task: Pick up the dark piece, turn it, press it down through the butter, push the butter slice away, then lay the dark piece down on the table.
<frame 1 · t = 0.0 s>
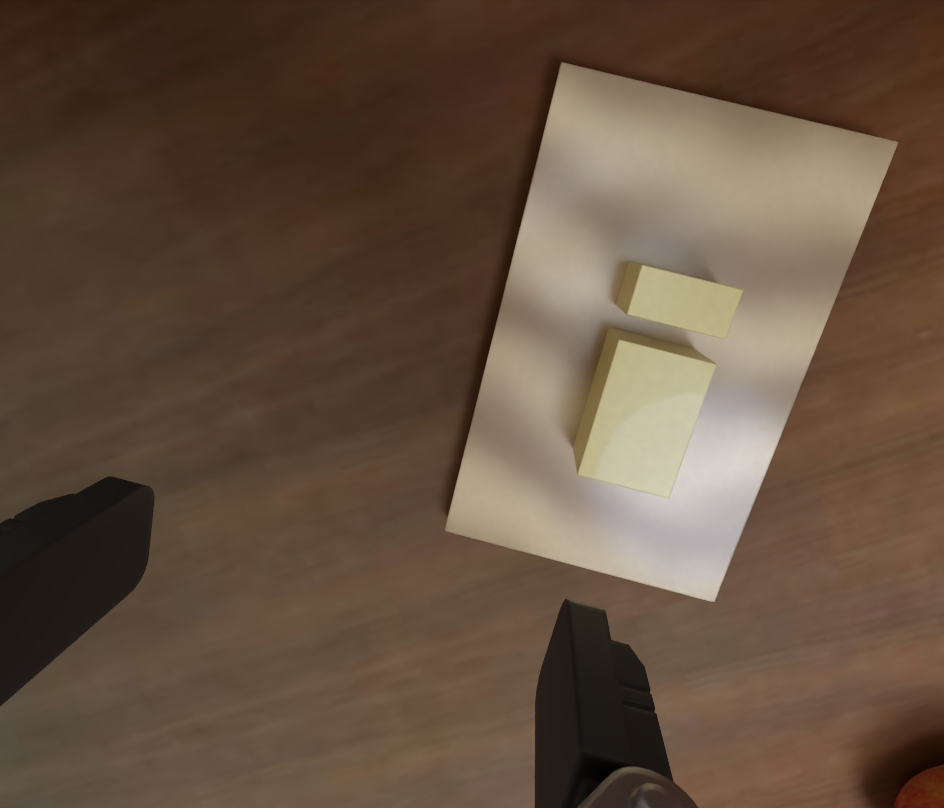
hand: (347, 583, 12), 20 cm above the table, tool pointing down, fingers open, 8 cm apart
board: (640, 353, 30), on the table
butter: (632, 400, 29), point 1 cm above the table, touching board
fruit: (940, 782, 34), on the table
butter slice: (666, 294, 27), point 1 cm above the table, touching board
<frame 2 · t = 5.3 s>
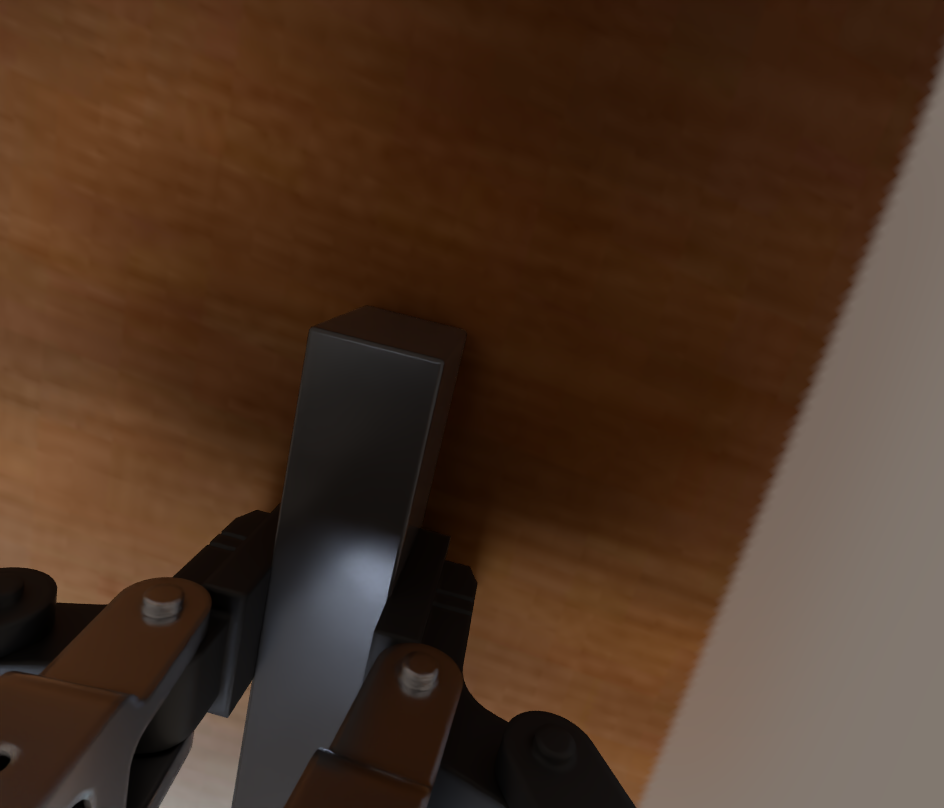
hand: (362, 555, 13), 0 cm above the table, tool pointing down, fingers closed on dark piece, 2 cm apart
dark piece: (327, 737, 14), on the table, touching gripper
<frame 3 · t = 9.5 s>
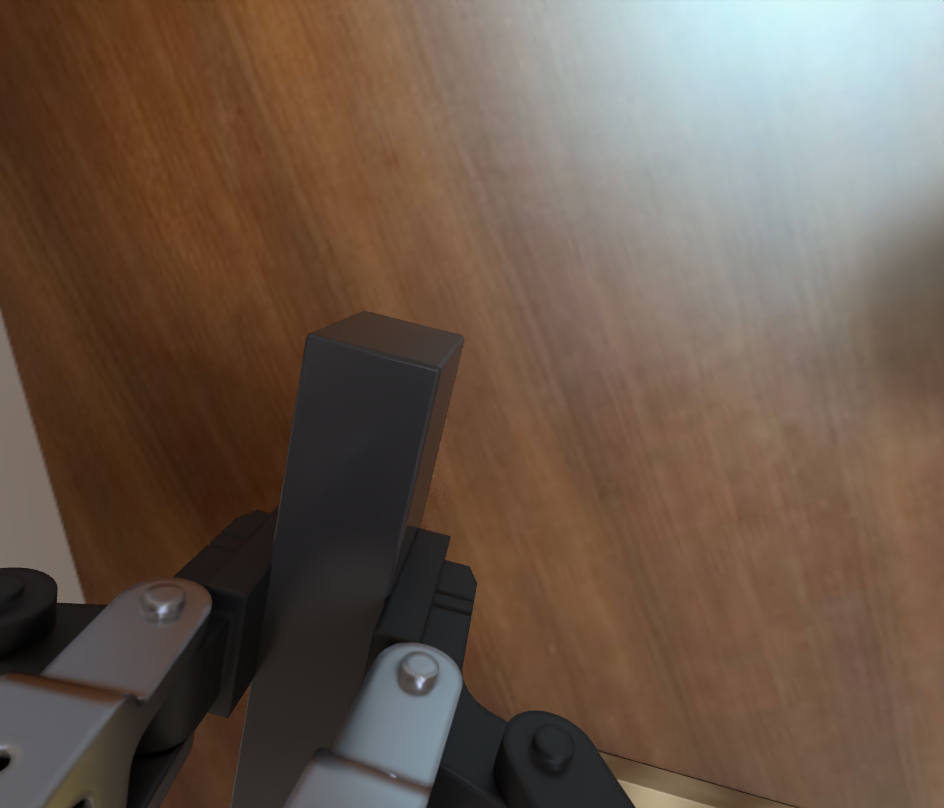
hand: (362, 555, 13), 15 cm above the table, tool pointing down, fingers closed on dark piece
dark piece: (326, 740, 14), point 15 cm above the table, touching gripper
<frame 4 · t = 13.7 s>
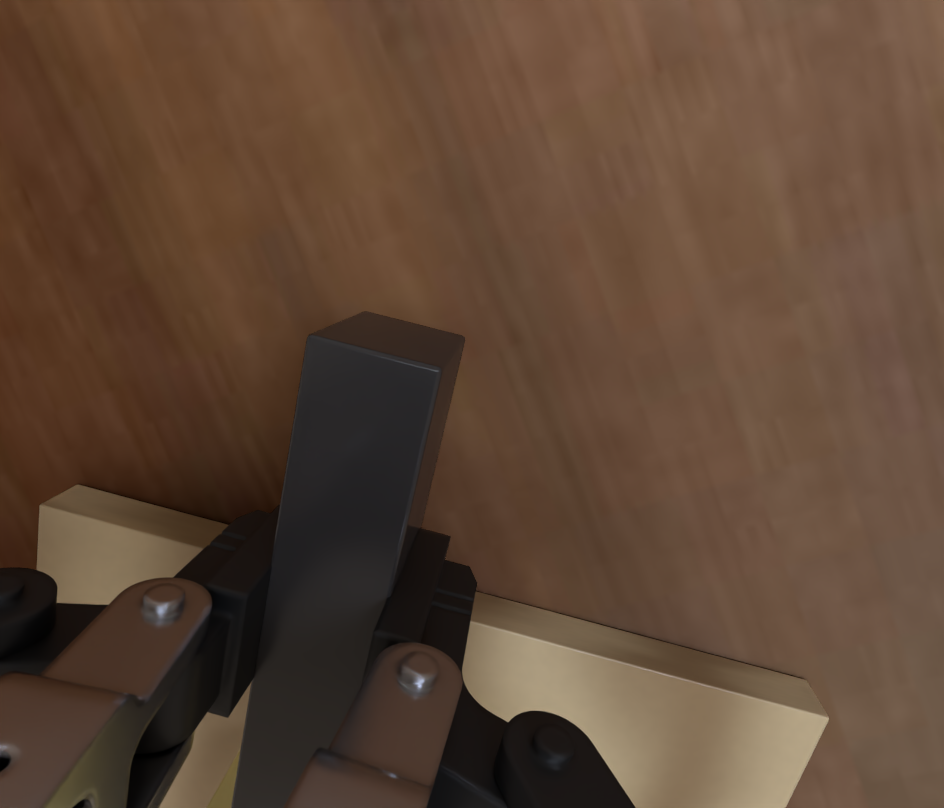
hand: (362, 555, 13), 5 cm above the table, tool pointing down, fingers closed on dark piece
board: (388, 765, 20), on the table
dark piece: (326, 741, 14), point 4 cm above the table, touching gripper
butter slice: (280, 779, 19), point 1 cm above the table, touching board
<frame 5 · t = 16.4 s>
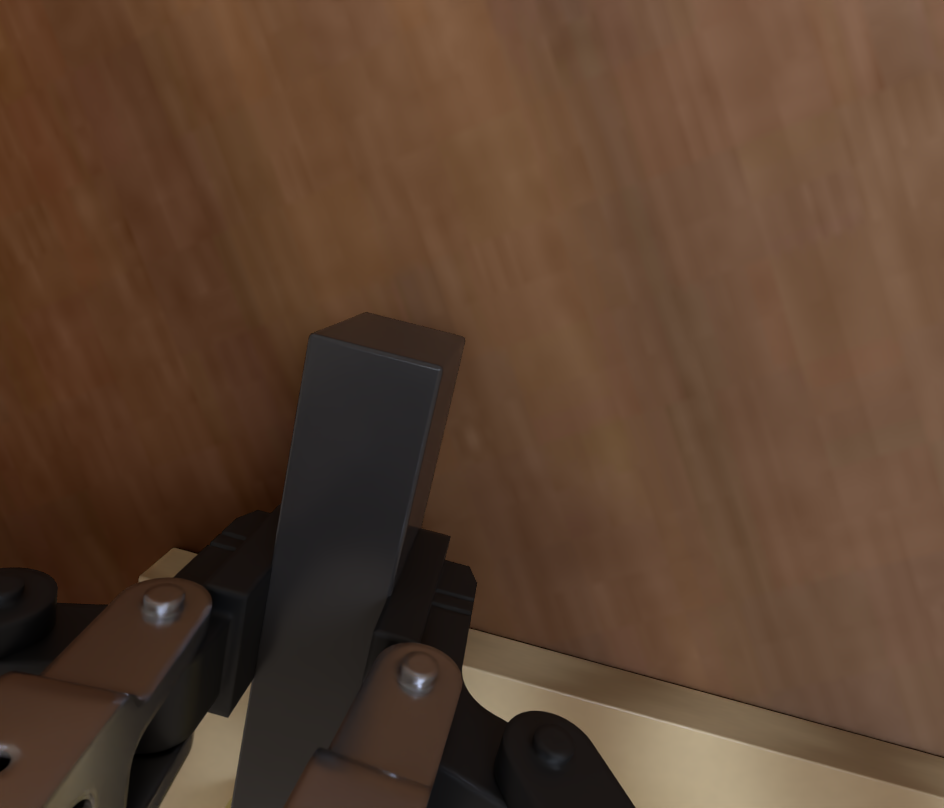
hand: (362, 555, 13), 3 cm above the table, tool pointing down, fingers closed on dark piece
dark piece: (326, 743, 14), point 3 cm above the table, touching gripper
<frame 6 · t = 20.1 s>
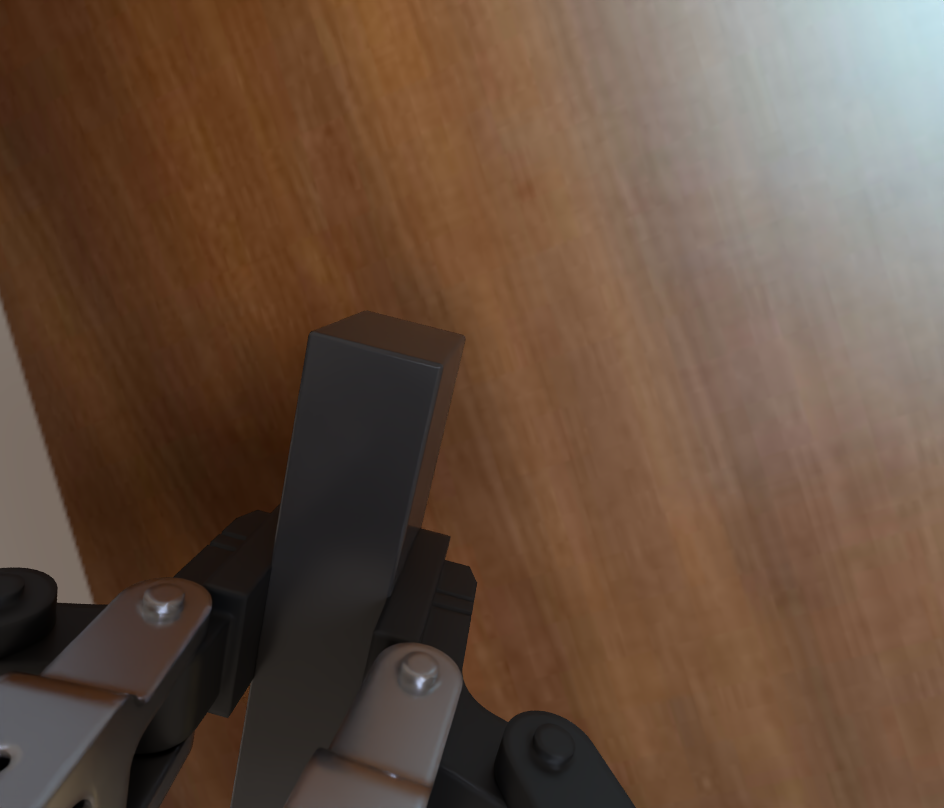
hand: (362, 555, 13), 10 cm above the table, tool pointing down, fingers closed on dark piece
dark piece: (326, 743, 14), point 9 cm above the table, touching gripper
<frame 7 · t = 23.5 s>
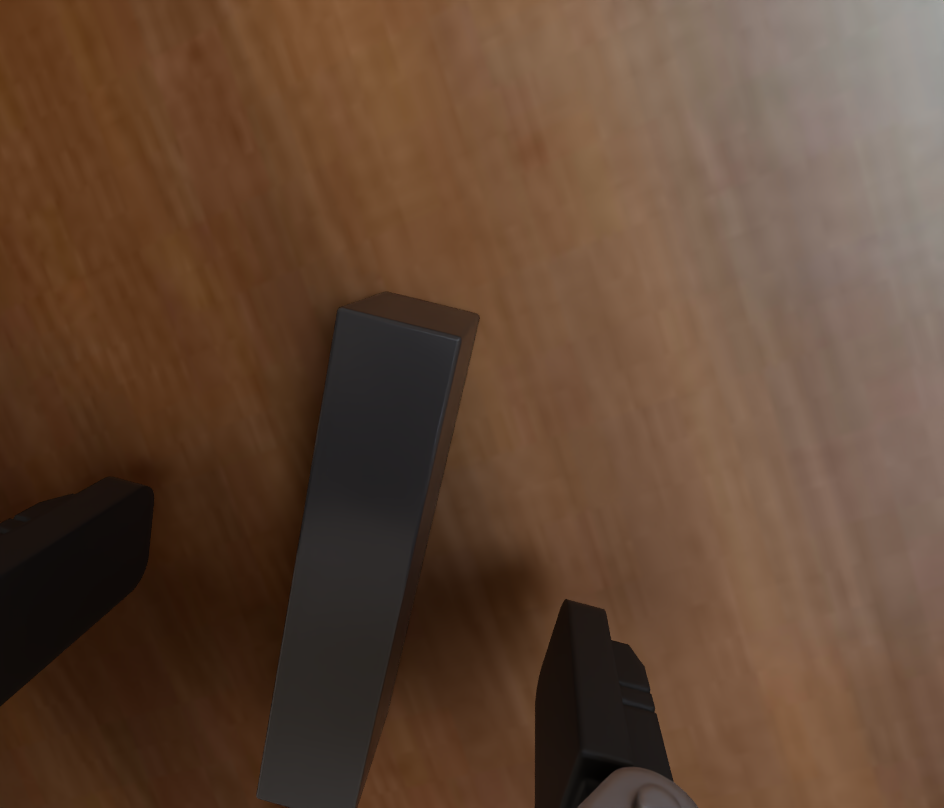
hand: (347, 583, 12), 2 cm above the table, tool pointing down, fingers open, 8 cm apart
dark piece: (348, 703, 15), on the table
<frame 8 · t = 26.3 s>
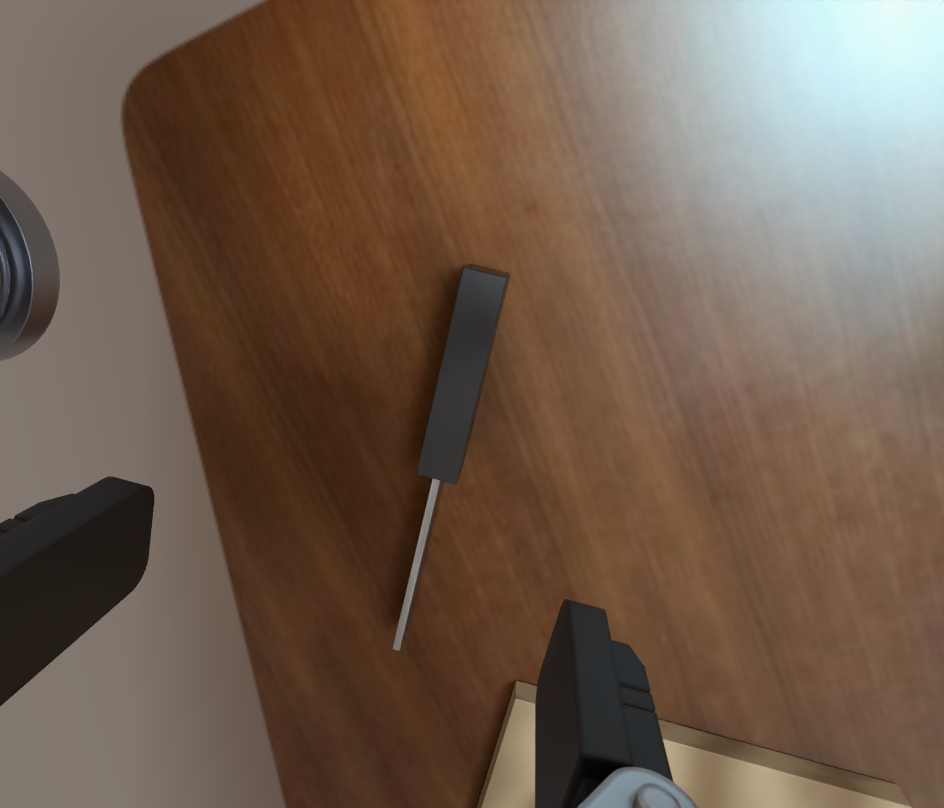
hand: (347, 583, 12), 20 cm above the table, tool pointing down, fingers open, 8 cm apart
dark piece: (445, 458, 32), on the table
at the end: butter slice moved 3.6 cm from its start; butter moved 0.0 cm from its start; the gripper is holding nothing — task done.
